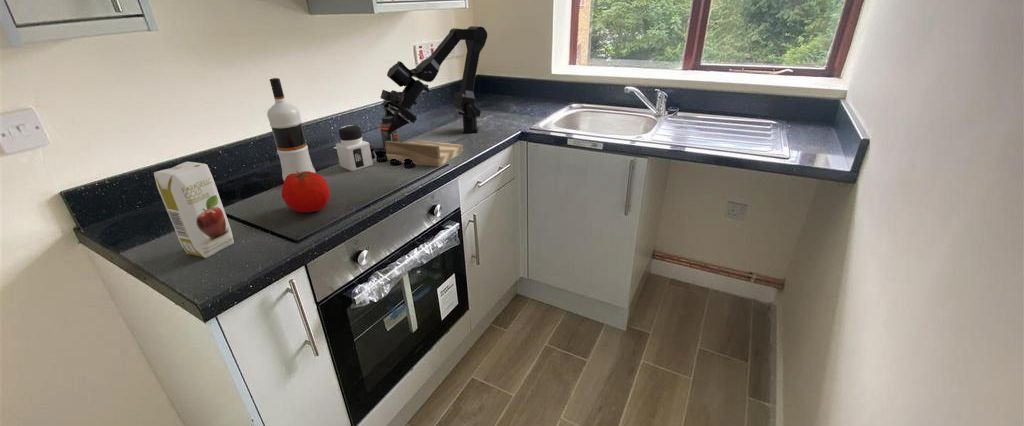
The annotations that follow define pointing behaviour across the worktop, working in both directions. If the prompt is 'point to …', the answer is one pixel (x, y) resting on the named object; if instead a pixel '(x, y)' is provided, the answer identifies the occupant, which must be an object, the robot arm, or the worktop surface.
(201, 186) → the juice carton
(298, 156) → the vodka
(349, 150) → the container
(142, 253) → the worktop surface
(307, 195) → the tomato
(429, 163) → the wooden block
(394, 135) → the supplement bottle
